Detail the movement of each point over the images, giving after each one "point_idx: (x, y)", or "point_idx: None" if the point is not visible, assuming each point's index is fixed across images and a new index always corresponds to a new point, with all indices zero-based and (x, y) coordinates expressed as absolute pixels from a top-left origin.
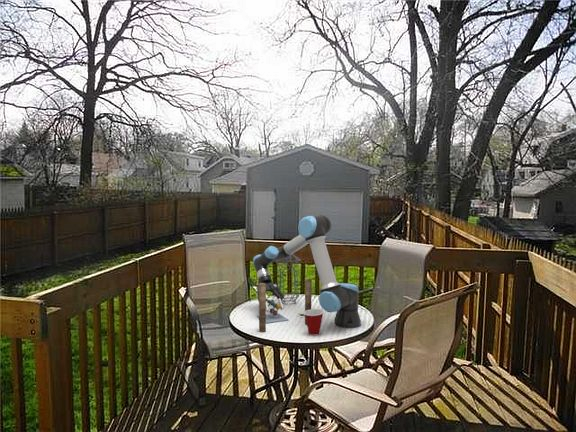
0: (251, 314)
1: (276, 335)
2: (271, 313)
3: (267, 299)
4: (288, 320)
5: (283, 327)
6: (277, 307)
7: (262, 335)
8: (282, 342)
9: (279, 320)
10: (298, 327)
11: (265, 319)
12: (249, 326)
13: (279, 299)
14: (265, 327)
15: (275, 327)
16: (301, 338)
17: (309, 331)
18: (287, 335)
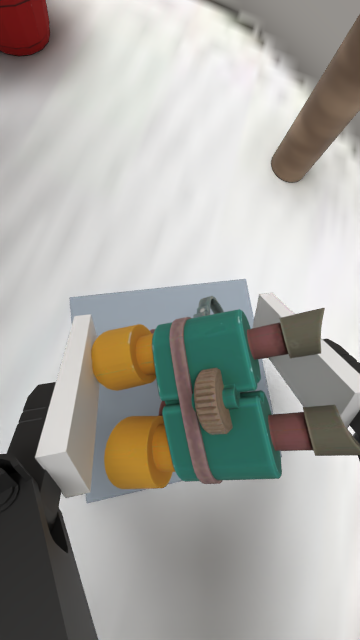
0: (311, 543)
1: (230, 85)
2: (215, 304)
3: (317, 426)
4: (71, 300)
5: (157, 179)
6: (146, 333)
7: (297, 111)
8: (225, 4)
9: (145, 296)
10: (63, 146)
11: (323, 74)
12: (346, 263)
13: (69, 424)
14: (286, 134)
15: (204, 196)
16: (120, 4)
17: (45, 4)
18: (176, 63)
